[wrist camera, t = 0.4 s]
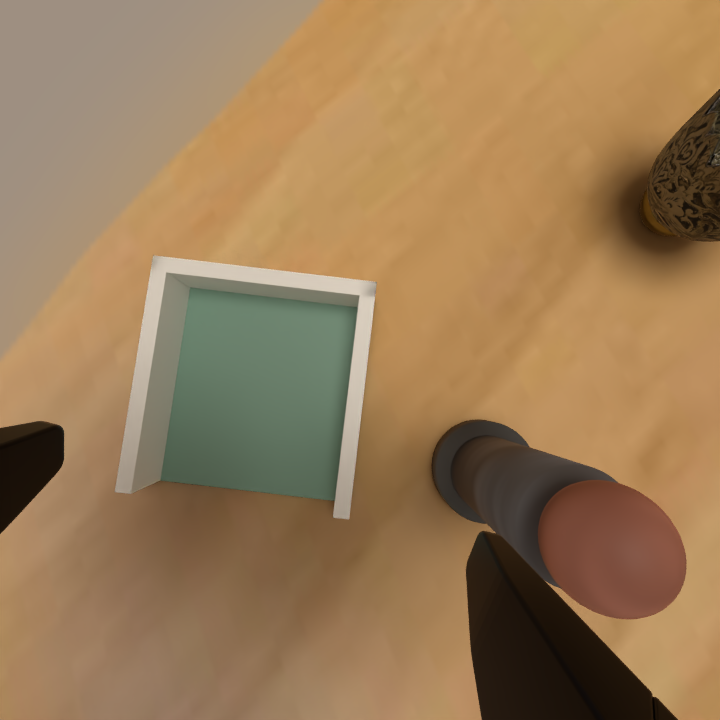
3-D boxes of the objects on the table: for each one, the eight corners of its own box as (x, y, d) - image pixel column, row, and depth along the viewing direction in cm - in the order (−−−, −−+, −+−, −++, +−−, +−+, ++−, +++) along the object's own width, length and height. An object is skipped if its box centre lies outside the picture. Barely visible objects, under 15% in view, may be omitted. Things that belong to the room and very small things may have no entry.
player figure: (478, 535, 23) (656, 744, 9) (412, 465, 24) (493, 568, 10) (544, 468, 24) (809, 577, 10) (479, 400, 24) (647, 412, 10)
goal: (349, 500, 23) (349, 519, 20) (150, 476, 23) (114, 491, 20) (373, 297, 24) (376, 282, 21) (182, 274, 24) (153, 255, 21)
